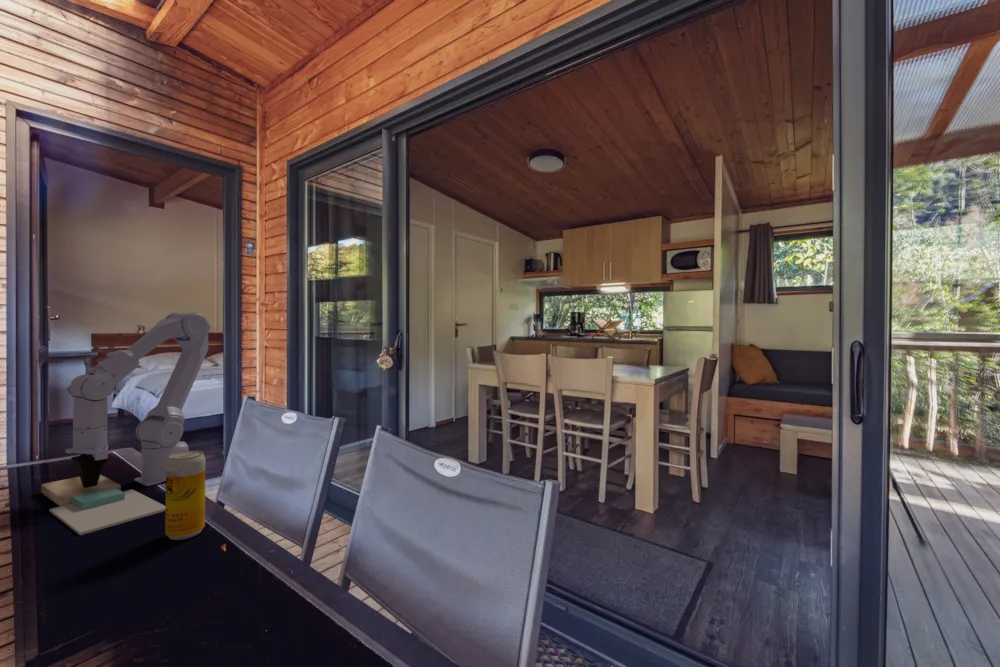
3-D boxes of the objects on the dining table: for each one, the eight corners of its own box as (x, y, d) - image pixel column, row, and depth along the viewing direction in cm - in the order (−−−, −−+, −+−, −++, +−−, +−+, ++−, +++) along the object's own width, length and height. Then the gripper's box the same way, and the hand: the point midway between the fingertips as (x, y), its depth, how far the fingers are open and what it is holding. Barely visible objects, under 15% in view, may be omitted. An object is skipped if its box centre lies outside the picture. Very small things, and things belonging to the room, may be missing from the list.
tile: (112, 493, 101) (112, 487, 101) (124, 499, 97) (124, 492, 97) (71, 503, 95) (71, 496, 95) (83, 510, 91) (83, 503, 91)
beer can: (157, 538, 80) (157, 457, 80) (189, 524, 86) (189, 449, 86) (181, 543, 78) (182, 460, 78) (212, 529, 84) (213, 451, 84)
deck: (97, 480, 111) (97, 472, 111) (120, 493, 102) (120, 485, 102) (41, 492, 102) (41, 484, 102) (61, 507, 94) (61, 498, 94)
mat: (132, 491, 103) (132, 489, 103) (168, 509, 93) (168, 507, 93) (49, 511, 92) (49, 508, 92) (80, 535, 81) (80, 532, 81)
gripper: (56, 426, 99) (55, 485, 99) (77, 434, 92) (77, 498, 92) (96, 421, 105) (96, 476, 105) (119, 428, 98) (119, 488, 98)
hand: (90, 486), depth 99 cm, fingers closed
